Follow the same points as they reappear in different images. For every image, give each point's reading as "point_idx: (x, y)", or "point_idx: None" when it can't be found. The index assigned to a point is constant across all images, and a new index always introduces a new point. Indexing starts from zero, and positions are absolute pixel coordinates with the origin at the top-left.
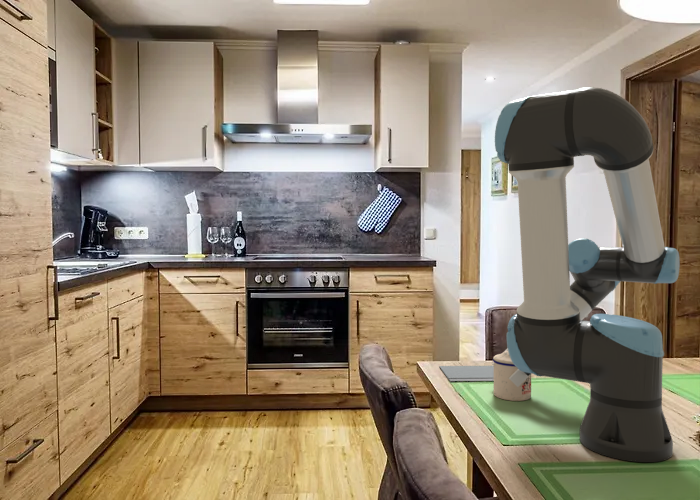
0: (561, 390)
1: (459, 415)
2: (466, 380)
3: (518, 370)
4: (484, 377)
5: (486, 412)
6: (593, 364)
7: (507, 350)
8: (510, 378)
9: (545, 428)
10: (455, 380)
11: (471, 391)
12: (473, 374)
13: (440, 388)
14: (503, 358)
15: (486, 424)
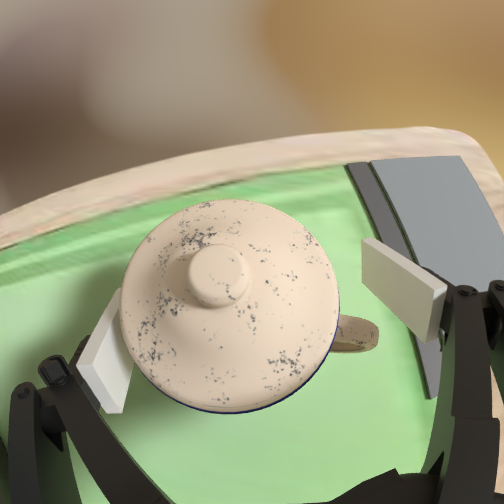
0: None
1: (75, 191)
2: (368, 201)
3: (103, 315)
4: (416, 252)
5: (84, 244)
6: None
7: (415, 279)
8: (116, 290)
9: (5, 356)
10: (356, 174)
11: None
12: (433, 223)
13: (277, 144)
14: (162, 236)
15: (28, 241)
